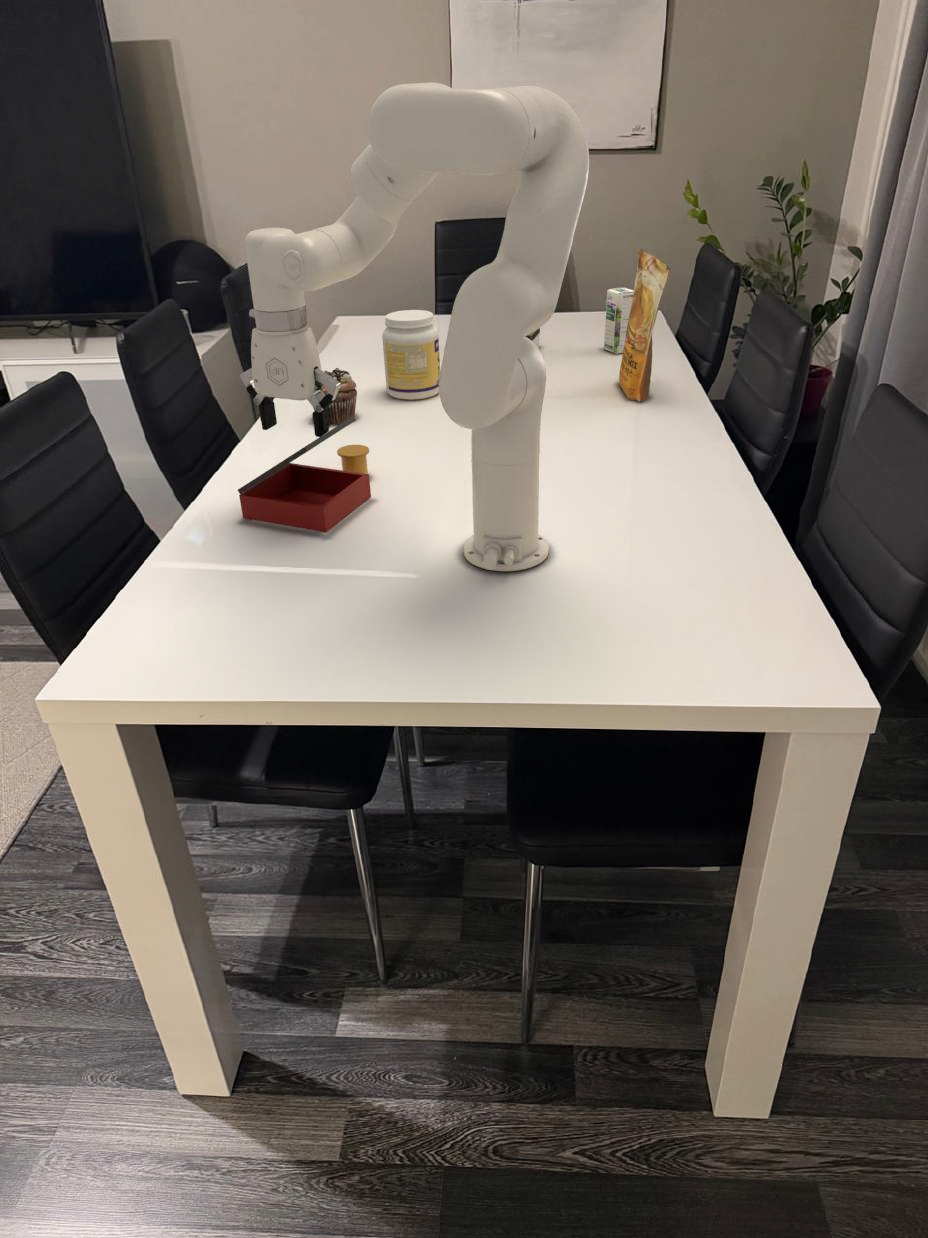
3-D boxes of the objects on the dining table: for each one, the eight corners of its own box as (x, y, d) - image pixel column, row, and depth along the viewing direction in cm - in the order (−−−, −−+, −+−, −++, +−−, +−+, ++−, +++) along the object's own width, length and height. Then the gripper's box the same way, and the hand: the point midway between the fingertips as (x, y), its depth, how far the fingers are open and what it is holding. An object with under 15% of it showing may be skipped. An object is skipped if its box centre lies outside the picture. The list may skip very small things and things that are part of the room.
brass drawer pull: (367, 485, 160) (364, 456, 157) (336, 484, 161) (333, 455, 158) (374, 473, 165) (372, 444, 162) (344, 472, 166) (341, 444, 163)
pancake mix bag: (643, 377, 210) (653, 246, 195) (661, 403, 193) (673, 263, 179) (614, 378, 209) (621, 247, 195) (629, 405, 193) (638, 264, 179)
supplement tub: (449, 396, 202) (446, 317, 193) (396, 404, 198) (390, 324, 189) (430, 381, 212) (426, 306, 203) (379, 389, 208) (373, 312, 199)
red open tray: (371, 500, 154) (369, 474, 152) (326, 536, 143) (323, 508, 141) (292, 488, 160) (289, 462, 158) (243, 522, 149) (238, 494, 146)
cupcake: (336, 407, 197) (331, 361, 192) (368, 416, 192) (364, 368, 187) (303, 420, 191) (297, 372, 186) (335, 429, 186) (330, 380, 181)
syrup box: (602, 349, 231) (605, 289, 223) (622, 345, 233) (626, 286, 226) (615, 354, 226) (618, 293, 219) (635, 351, 229) (639, 290, 221)
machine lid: (355, 420, 148) (353, 416, 148) (307, 451, 137) (304, 446, 136) (290, 462, 157) (287, 458, 157) (240, 494, 146) (237, 490, 146)
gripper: (217, 321, 136) (236, 432, 145) (318, 329, 130) (331, 445, 139) (247, 309, 142) (263, 417, 151) (345, 317, 136) (355, 429, 144)
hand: (295, 430), depth 145 cm, fingers open, 9 cm apart
